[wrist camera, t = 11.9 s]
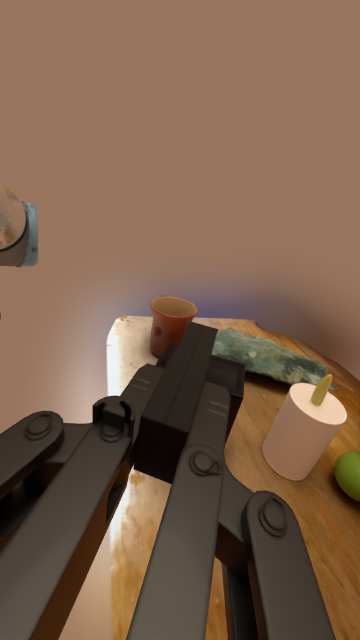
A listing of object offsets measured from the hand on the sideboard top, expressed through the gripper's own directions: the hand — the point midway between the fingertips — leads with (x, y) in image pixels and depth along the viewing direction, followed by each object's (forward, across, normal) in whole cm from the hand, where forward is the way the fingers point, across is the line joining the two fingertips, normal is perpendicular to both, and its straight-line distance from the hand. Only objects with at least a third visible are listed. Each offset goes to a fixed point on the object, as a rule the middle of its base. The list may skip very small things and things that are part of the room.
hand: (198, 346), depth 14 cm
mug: (+31, -9, -23) cm, 40 cm away
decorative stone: (+34, +11, -23) cm, 42 cm away
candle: (+14, +14, -23) cm, 30 cm away
